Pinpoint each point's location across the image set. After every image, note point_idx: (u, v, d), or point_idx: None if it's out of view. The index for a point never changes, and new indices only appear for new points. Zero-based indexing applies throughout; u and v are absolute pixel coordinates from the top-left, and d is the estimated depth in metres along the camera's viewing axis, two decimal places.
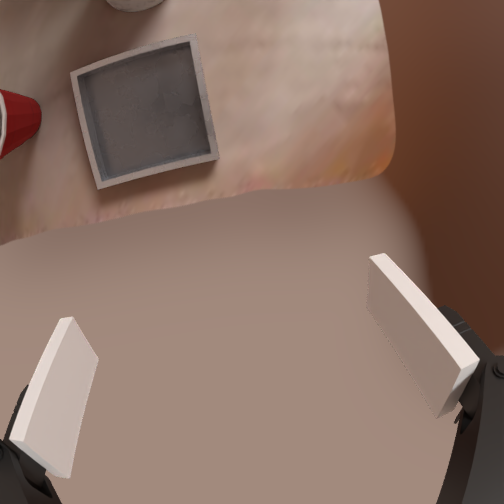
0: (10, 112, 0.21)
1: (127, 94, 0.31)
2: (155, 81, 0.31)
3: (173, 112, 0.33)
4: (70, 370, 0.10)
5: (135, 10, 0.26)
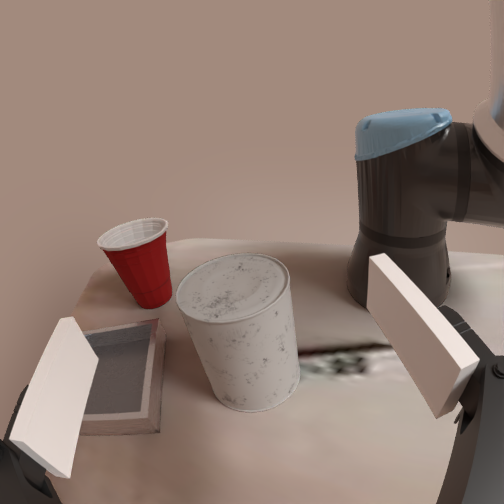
0: (127, 257, 0.39)
1: (125, 369, 0.34)
2: (125, 391, 0.31)
3: (92, 402, 0.29)
4: (70, 370, 0.10)
5: None
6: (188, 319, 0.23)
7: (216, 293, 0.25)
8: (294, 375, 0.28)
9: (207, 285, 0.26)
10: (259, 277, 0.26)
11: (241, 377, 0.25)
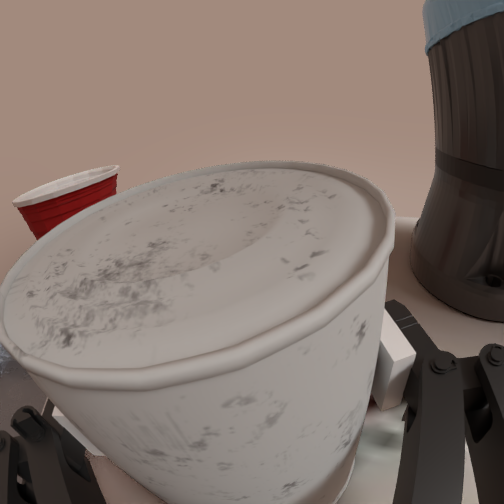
0: (44, 217, 0.20)
1: None
2: None
3: None
4: None
5: None
6: None
7: (119, 249, 0.07)
8: (350, 469, 0.10)
9: (107, 231, 0.08)
10: (273, 201, 0.08)
11: None
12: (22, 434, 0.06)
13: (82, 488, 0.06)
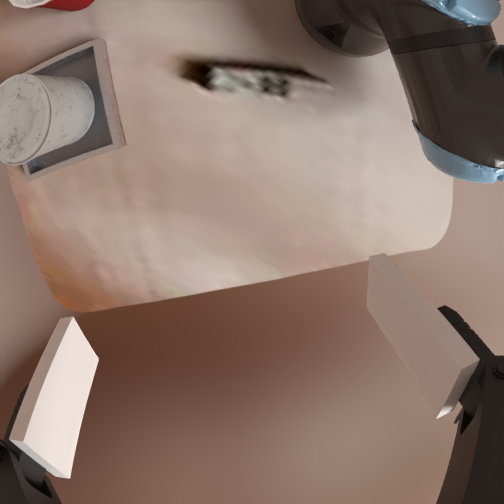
0: (51, 2, 0.19)
1: None
2: None
3: None
4: (70, 370, 0.10)
5: None
6: None
7: (8, 130, 0.22)
8: (86, 122, 0.32)
9: (1, 121, 0.21)
10: (32, 108, 0.22)
11: None
12: None
13: (44, 503, 0.05)
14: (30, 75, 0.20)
